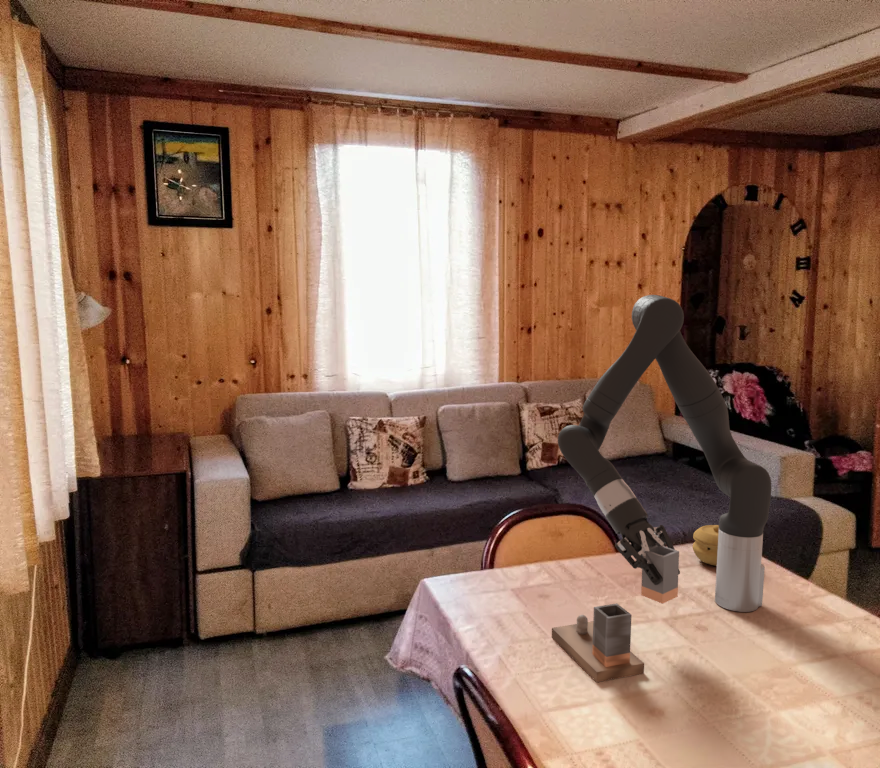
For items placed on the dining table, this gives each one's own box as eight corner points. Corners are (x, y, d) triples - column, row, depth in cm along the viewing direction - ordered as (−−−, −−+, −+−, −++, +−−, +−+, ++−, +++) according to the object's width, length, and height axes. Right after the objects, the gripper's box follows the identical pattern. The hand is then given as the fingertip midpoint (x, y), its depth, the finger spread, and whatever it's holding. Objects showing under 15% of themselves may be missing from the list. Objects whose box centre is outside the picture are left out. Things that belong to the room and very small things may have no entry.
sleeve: (641, 595, 147) (642, 550, 145) (656, 588, 150) (657, 544, 148) (662, 603, 143) (664, 557, 142) (677, 596, 146) (679, 551, 145)
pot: (719, 551, 198) (721, 516, 196) (750, 567, 186) (752, 530, 185) (682, 556, 194) (684, 520, 192) (711, 573, 183) (714, 535, 181)
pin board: (594, 629, 153) (596, 577, 152) (643, 673, 136) (646, 615, 135) (551, 637, 150) (552, 583, 149) (596, 682, 133) (598, 622, 132)
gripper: (608, 503, 145) (658, 580, 137) (652, 490, 154) (701, 561, 146) (587, 522, 150) (634, 597, 142) (631, 508, 159) (677, 578, 151)
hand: (668, 579), depth 144 cm, fingers closed on sleeve, 5 cm apart
